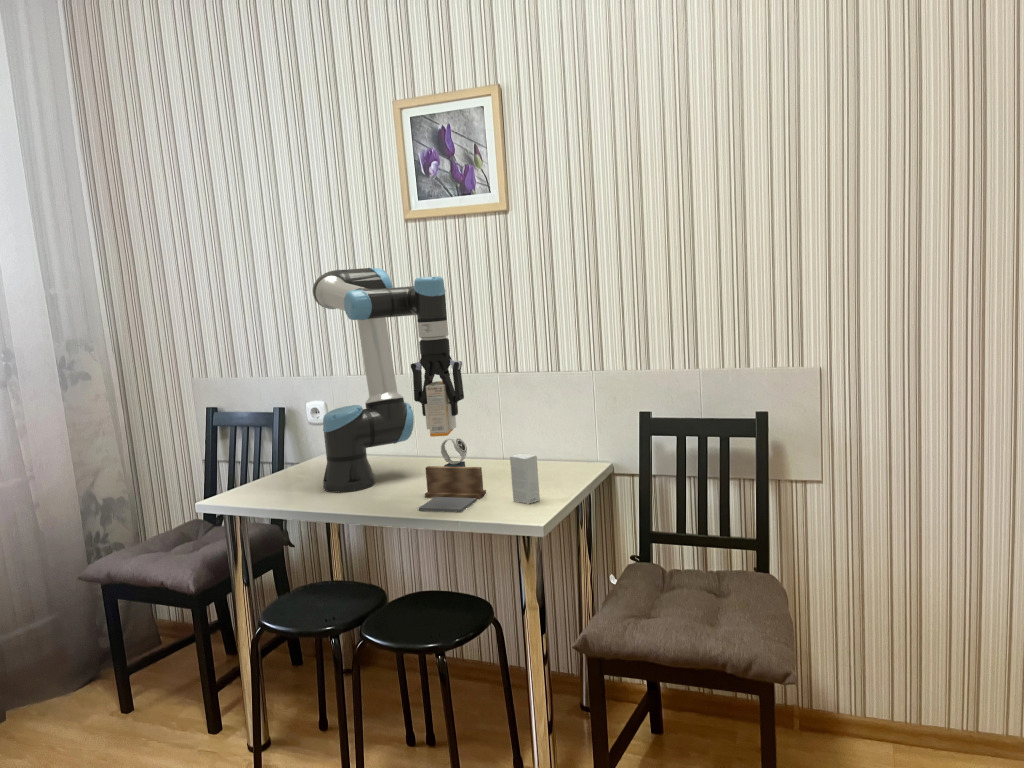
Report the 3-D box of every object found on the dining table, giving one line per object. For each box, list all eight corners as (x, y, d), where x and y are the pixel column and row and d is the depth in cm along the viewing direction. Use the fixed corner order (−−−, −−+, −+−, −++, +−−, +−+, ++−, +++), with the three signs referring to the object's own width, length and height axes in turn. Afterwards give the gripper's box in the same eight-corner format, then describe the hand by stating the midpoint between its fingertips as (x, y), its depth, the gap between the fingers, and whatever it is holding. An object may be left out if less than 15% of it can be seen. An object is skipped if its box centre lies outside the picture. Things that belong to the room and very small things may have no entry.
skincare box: (540, 500, 198) (537, 455, 196) (529, 504, 195) (525, 458, 193) (524, 497, 202) (520, 452, 201) (512, 501, 199) (509, 456, 198)
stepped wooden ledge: (425, 497, 209) (422, 469, 208) (433, 492, 213) (430, 464, 212) (479, 499, 203) (476, 470, 202) (486, 494, 208) (483, 465, 207)
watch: (463, 475, 230) (460, 440, 229) (439, 475, 233) (436, 439, 232) (471, 471, 235) (468, 436, 234) (448, 470, 238) (445, 436, 237)
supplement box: (436, 430, 201) (432, 381, 199) (454, 429, 201) (450, 380, 199) (429, 437, 193) (424, 385, 191) (447, 436, 192) (443, 384, 191)
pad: (418, 510, 197) (418, 507, 197) (435, 499, 206) (435, 496, 206) (461, 512, 192) (460, 509, 192) (476, 501, 202) (476, 498, 202)
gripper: (394, 341, 194) (402, 431, 196) (461, 337, 187) (468, 431, 190) (408, 338, 200) (416, 425, 203) (473, 335, 194) (480, 425, 197)
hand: (441, 428), depth 197 cm, fingers closed on supplement box, 6 cm apart
